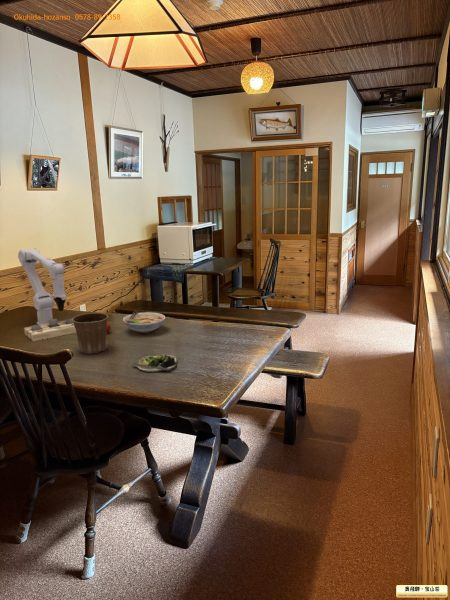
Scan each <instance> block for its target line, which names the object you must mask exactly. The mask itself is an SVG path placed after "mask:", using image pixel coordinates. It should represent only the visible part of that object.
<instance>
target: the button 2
mask: <svg viewBox="0 0 450 600" xmlns="http://www.w3.org/2000/svg"><path fill="white" fill-rule="evenodd" d="M58 322H59V320H58V319H57V318H53V319H50V320H49V327H50V328H52V327H57V326H58Z"/></svg>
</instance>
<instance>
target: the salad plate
mask: <svg viewBox="0 0 450 600" xmlns="http://www.w3.org/2000/svg"><path fill="white" fill-rule="evenodd" d="M177 362H178V361H177V357H176V356H174V355H172V354H171V355H169V354H160V355H148V356H144V357H142V358H140V359H139V361H138V363H136V362H135V363H134V362H133V363H131V364H130V365H131V366H132V367H136V368H138V369H139V370H141V371H143V372H147V373H157V372H158V371H165V372H170V371H172V369H173V370H175V369H176V368H175V367H177V365H178V363H177ZM160 363H161V364H160ZM174 368H175V369H174Z"/></svg>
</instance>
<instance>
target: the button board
mask: <svg viewBox="0 0 450 600" xmlns="http://www.w3.org/2000/svg"><path fill="white" fill-rule="evenodd" d="M40 326H41V330H36V331H32V328H31V326H27V327H24V328H23V333H24V335H25V336H26V337H27V338H29V339H30V340H31V341H32V342H37V341H43V340H46V339H47V338H48V339H51V338H57V337H61V336H66V335H72V334H77V333H76V329H75V327H74V323H73V324H68V325H67V324H66V319H65V320H58V326H57V327H52V328H50V327H49V323H48V324H43V325H40ZM42 339H43V340H42Z"/></svg>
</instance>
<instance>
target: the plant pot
mask: <svg viewBox="0 0 450 600" xmlns="http://www.w3.org/2000/svg"><path fill="white" fill-rule="evenodd" d="M108 318H109V315H108V314H106V313H101V312H92V313H90V312H89V313H83V314H78V315H76V316H73V318H71V319H72V321H73V322H74V327H75V329H76V333H75V334H76V336H77V337H76V338H77V342H78V346H79V347H78V348H79V351H80V353H82V354H85V355H86V354H87V355H92V354H93V355H94V354H97V353H98V354H99V353H100V352H105V350H106V349H107V333H106V327H107V323H108Z"/></svg>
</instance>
